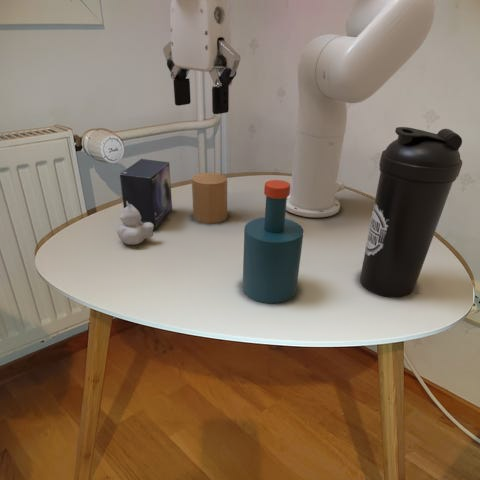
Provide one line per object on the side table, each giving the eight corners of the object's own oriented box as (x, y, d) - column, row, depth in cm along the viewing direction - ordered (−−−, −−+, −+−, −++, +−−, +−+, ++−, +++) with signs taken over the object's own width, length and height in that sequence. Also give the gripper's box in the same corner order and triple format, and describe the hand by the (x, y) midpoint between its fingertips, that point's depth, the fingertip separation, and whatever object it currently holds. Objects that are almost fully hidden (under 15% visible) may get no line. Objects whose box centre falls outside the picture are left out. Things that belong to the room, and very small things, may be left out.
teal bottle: (267, 269, 70) (274, 170, 60) (307, 289, 65) (322, 184, 56) (231, 287, 65) (232, 182, 55) (271, 310, 61) (281, 200, 51)
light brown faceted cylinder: (211, 207, 91) (210, 170, 86) (233, 217, 87) (233, 178, 83) (187, 216, 87) (185, 177, 82) (209, 226, 83) (208, 186, 79)
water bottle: (349, 266, 72) (379, 120, 58) (409, 268, 71) (453, 123, 58) (361, 299, 63) (399, 138, 50) (428, 302, 63) (485, 141, 50)
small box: (156, 231, 81) (151, 177, 74) (124, 228, 82) (116, 174, 75) (174, 211, 89) (170, 160, 83) (145, 208, 90) (139, 157, 84)
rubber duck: (122, 236, 79) (115, 194, 74) (157, 236, 79) (153, 195, 74) (116, 249, 74) (109, 206, 70) (153, 249, 75) (148, 206, 70)
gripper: (257, -18, 60) (252, 113, 70) (179, -17, 69) (185, 99, 79) (219, -21, 55) (220, 120, 66) (141, -19, 65) (153, 104, 75)
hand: (201, 108), depth 72 cm, fingers open, 9 cm apart
